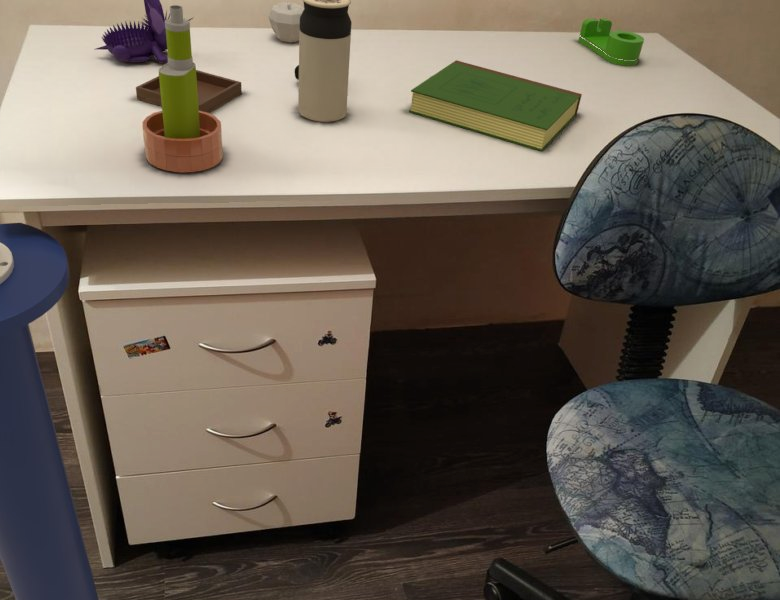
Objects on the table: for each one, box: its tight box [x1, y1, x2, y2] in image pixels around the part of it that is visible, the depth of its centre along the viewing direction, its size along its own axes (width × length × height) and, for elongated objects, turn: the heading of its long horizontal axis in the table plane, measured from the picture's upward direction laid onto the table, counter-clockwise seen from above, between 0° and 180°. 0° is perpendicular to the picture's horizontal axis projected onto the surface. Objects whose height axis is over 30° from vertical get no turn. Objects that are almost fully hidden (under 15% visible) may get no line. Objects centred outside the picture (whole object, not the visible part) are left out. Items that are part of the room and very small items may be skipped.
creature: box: [95, 0, 194, 64], centre depth 140 cm, size 9×18×12 cm, turn 107°
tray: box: [135, 69, 243, 114], centre depth 133 cm, size 12×12×2 cm
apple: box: [268, 2, 304, 44], centre depth 156 cm, size 8×8×7 cm
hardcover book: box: [408, 59, 583, 152], centre depth 139 cm, size 25×19×4 cm
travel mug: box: [297, 0, 352, 123], centre depth 127 cm, size 8×8×18 cm
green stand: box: [577, 17, 645, 67], centre depth 169 cm, size 15×7×5 cm, turn 22°
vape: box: [157, 4, 200, 139], centre depth 110 cm, size 4×6×20 cm, turn 167°
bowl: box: [141, 110, 224, 173], centre depth 115 cm, size 11×11×5 cm
